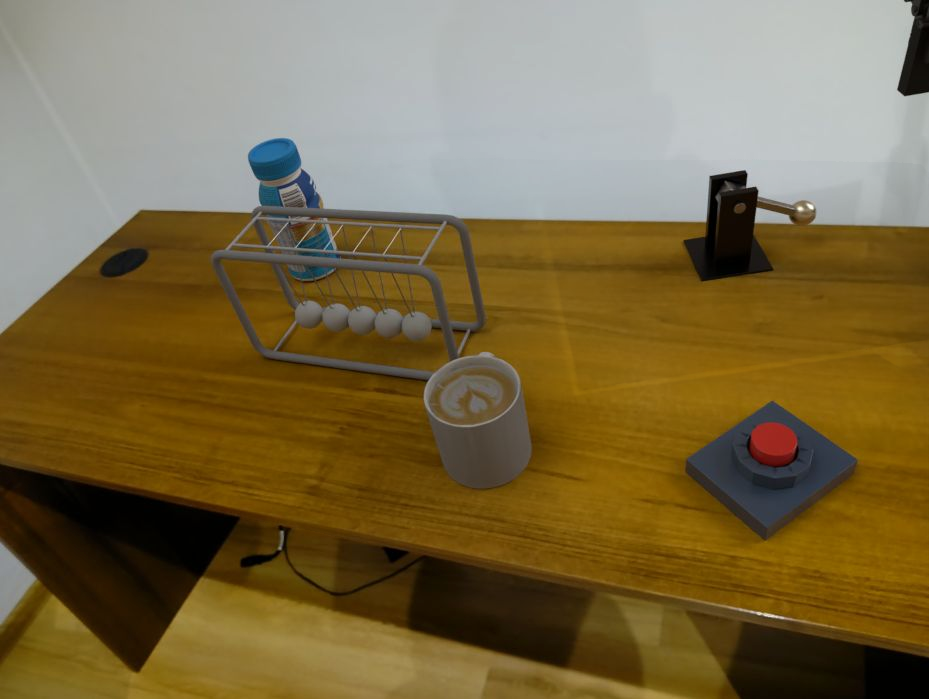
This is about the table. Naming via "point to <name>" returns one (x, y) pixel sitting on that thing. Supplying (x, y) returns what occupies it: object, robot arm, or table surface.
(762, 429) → the button
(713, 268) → the bracket
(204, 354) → the table surface
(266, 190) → the beverage bottle
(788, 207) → the lever
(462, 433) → the coffee mug
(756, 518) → the button block
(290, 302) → the newton's cradle
